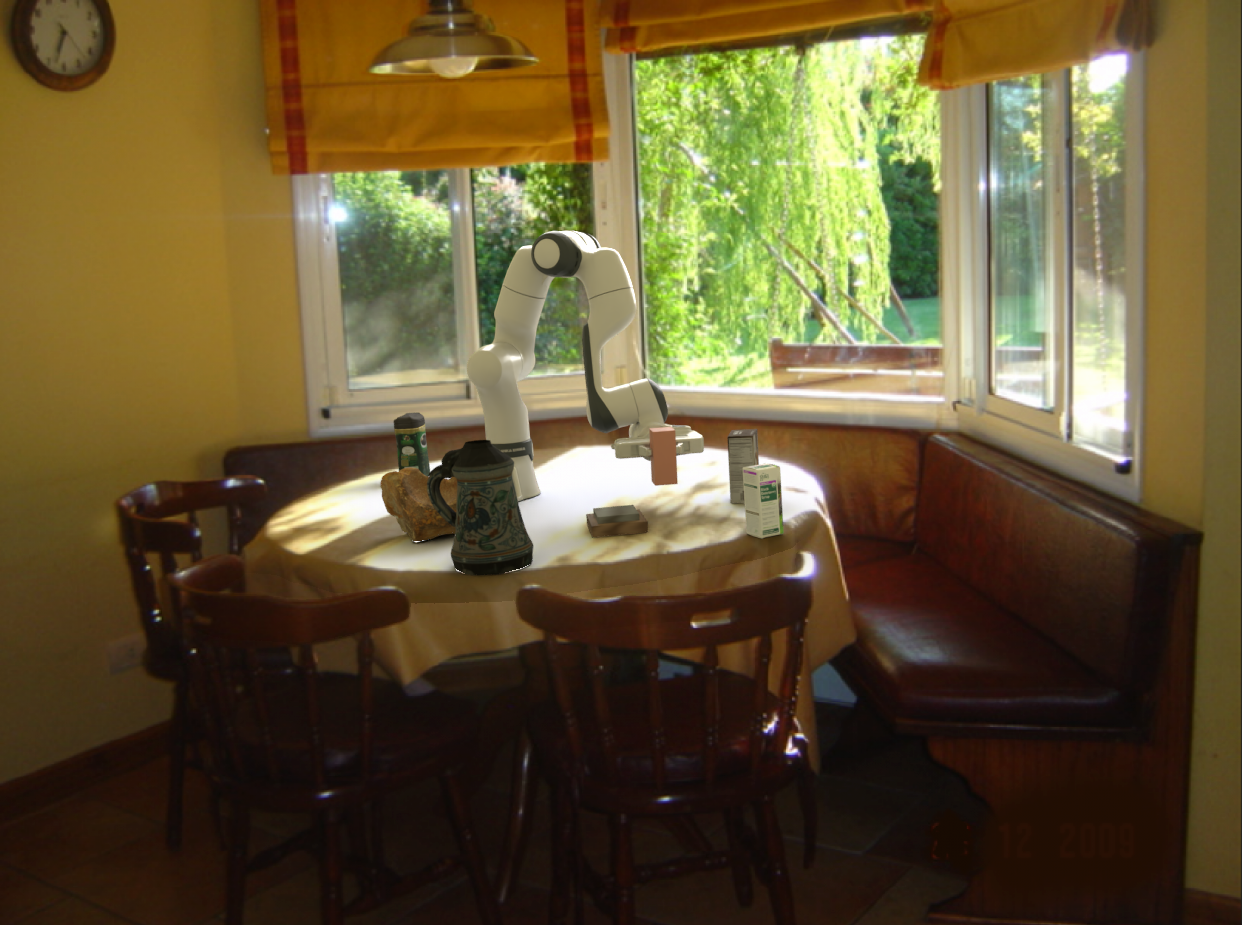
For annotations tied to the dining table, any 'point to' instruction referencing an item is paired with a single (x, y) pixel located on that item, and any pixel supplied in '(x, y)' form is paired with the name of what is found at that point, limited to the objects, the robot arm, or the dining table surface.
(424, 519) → the rough brown rock
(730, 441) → the coffee box
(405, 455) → the coffee jar
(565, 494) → the dining table surface
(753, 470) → the syrup box
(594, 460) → the dining table surface
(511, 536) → the beer stein
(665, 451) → the carton
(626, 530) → the podium
